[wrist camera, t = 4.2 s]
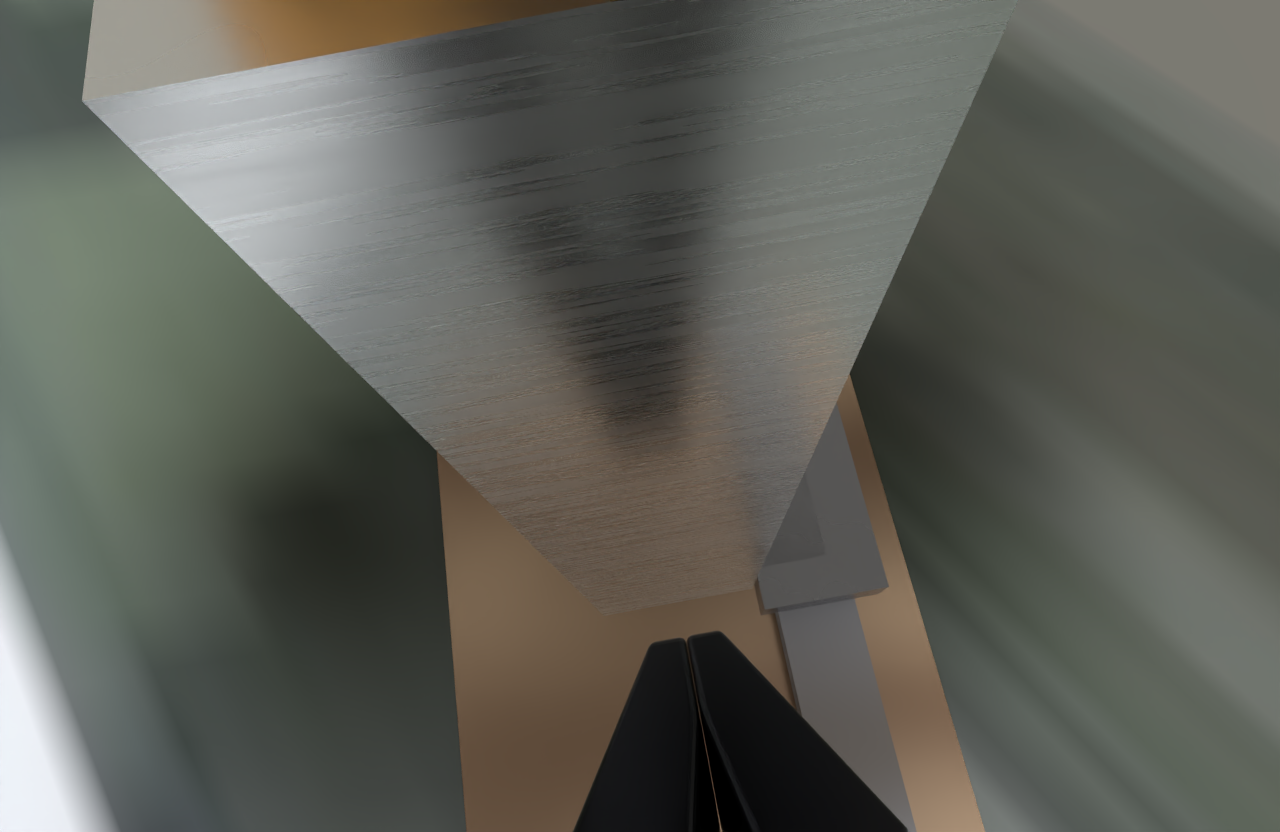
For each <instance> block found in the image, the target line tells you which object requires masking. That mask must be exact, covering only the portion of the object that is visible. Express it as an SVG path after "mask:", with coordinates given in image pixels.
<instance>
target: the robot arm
mask: <svg viewBox="0 0 1280 832" xmlns="http://www.w3.org/2000/svg"><path fill="white" fill-rule="evenodd" d="M687 646H688V649H687ZM688 652H689V654H688ZM689 657H690V659H689ZM690 663H691V665H690ZM691 668H692V670H691ZM692 674H693V676H692ZM693 679H694V681H693ZM694 684H695V686H694ZM695 690H696V692H695ZM696 695H697V697H696ZM697 701H698V703H697ZM698 706H699V708H698ZM699 712H700V713H699ZM700 717H701V719H700ZM701 722H702V724H701ZM702 728H703V730H702ZM703 733H704V735H703ZM704 739H705V741H704ZM705 744H706V746H705ZM706 750H707V752H706ZM707 755H708V757H707ZM708 760H709V763H708ZM709 766H710V768H709ZM710 771H711V773H710ZM711 777H712V779H711ZM712 782H713V784H712ZM713 787H714V790H713ZM714 793H715V795H714ZM715 798H716V801H715ZM716 804H717V806H716ZM717 809H718V812H717ZM718 814H719V817H718ZM719 819H720V824H721V828H722V832H908V829H907V827H906V826H905V825H904V824H903V823H902V822H901V821H900V820H899V819H898V818H897V817H896V816H895V815H894V813H893V812H892V811H891V810H890V809H889V808H888V807H887V806H886V805H885V804H884V803H883V802H882V801H881V800H880V799H879V798H878V796H877V795H876V794H875V793H874V792H873V791H872V790H871V789H870V788H869V787H868V786H867V785H866V784H865V783H864V782H863V781H862V780H861V778H860V777H859V776H858V775H857V774H856V773H855V772H854V771H853V770H852V769H851V768H850V767H849V766H848V765H847V764H846V763H845V761H844V760H843V759H842V758H841V757H840V756H839V755H838V754H837V753H836V752H835V751H834V750H833V749H832V748H831V747H830V746H829V744H828V743H827V742H826V741H825V740H824V739H823V738H822V737H821V736H820V735H819V734H818V733H817V732H816V731H815V730H814V729H813V727H812V726H811V725H810V724H809V723H808V722H807V721H806V720H805V719H804V718H803V717H802V716H801V715H800V714H799V713H798V712H797V710H796V709H795V708H794V707H793V706H792V705H791V704H790V703H789V702H788V701H787V700H786V699H785V698H784V697H783V696H782V695H781V693H780V692H779V691H778V690H777V689H776V688H775V687H774V686H773V685H772V684H771V683H770V682H769V681H768V680H767V679H766V678H765V676H764V675H763V674H762V673H761V672H760V671H759V670H758V669H757V668H756V667H755V666H754V665H753V664H752V663H751V662H750V661H749V660H748V658H747V657H746V656H745V655H744V654H743V653H742V652H741V651H740V650H739V649H738V648H737V647H736V646H735V645H734V644H733V643H732V641H731V640H730V639H729V638H728V637H727V636H726V635H725V634H724V633H723V632H721V631H711V632H706V633H700V634H695V635H691V636H689V637H688V639H687V643H686V641H685V640H684V639H683V638H681V637H678V638H673V639H667V640H662V641H656V642H653V643H652V644H650V646H649V648H648V650H647V652H646V654H645V657H644V659H643V662H642V664H641V667H640V669H639V671H638V674H637V676H636V679H635V681H634V684H633V686H632V689H631V691H630V693H629V696H628V698H627V701H626V703H625V706H624V708H623V710H622V713H621V715H620V718H619V720H618V723H617V725H616V728H615V730H614V732H613V735H612V737H611V740H610V742H609V745H608V747H607V749H606V752H605V754H604V757H603V759H602V762H601V764H600V767H599V769H598V771H597V774H596V776H595V779H594V781H593V784H592V786H591V788H590V791H589V793H588V796H587V798H586V801H585V803H584V805H583V808H582V810H581V813H580V815H579V818H578V820H577V823H576V825H575V827H574V830H573V832H721V831H720V824H719Z"/></svg>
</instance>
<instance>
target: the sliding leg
mask: <svg viewBox="0 0 1280 832" xmlns="http://www.w3.org/2000/svg"><path fill="white" fill-rule="evenodd" d="M1017 2H1018V0H94V5H93V14H92V22H91V31H90V39H89V47H88V56H87V64H86V73H85V81H84V89H83V98H82V101H83V102H84V103H85V104H86V105H87V106H88V107H89V108H90V109H91V110H92V111H93V112H94V113H95V114H96V115H97V116H98V117H99V118H100V119H101V120H102V121H103V122H104V123H105V124H106V125H107V126H108V127H109V128H110V129H111V130H112V131H113V132H114V133H115V134H116V135H117V136H118V137H119V138H120V139H121V140H122V141H123V142H124V143H125V144H126V145H127V146H128V147H129V148H130V149H131V150H132V151H133V152H134V153H135V154H136V155H138V156H139V157H140V158H141V159H142V160H143V161H144V162H145V163H146V164H147V165H148V166H149V167H150V168H151V169H152V170H153V171H154V172H155V173H156V174H157V175H158V176H159V177H160V178H161V179H162V180H163V181H164V182H165V183H166V184H167V185H168V186H169V187H170V188H171V189H172V190H173V191H174V192H175V193H176V194H177V195H178V196H179V197H180V198H181V199H182V200H183V201H184V202H185V203H186V204H187V205H188V206H189V207H190V208H191V209H192V210H193V211H194V212H195V213H196V214H197V215H198V216H199V217H200V218H201V219H202V220H203V221H204V222H205V223H206V224H207V225H208V226H209V227H210V228H211V229H212V230H214V231H215V232H216V233H217V234H218V235H219V236H220V237H221V238H222V239H223V240H224V241H225V242H226V243H227V244H228V245H229V246H230V247H231V248H232V249H233V250H234V251H235V252H236V253H237V254H238V255H239V256H240V257H241V258H242V259H243V260H244V261H245V262H246V263H247V264H248V265H249V266H250V267H251V268H252V269H253V270H254V271H255V272H256V273H257V274H258V275H259V276H260V277H261V278H262V279H263V280H264V281H265V282H266V283H267V284H268V285H269V286H270V287H271V288H272V289H273V290H274V291H275V292H276V293H277V294H278V295H279V296H280V297H281V298H282V299H283V300H284V301H285V302H286V303H287V304H288V305H289V306H291V307H292V308H293V309H294V310H295V311H296V312H297V313H298V314H299V315H300V316H301V317H302V318H303V319H304V320H305V321H306V322H307V323H308V324H309V325H310V326H311V327H312V328H313V329H314V330H315V331H316V332H317V333H318V334H319V335H320V336H321V337H322V338H323V339H324V340H325V341H326V342H327V343H328V344H329V345H330V346H331V347H332V348H333V349H334V350H335V351H336V352H337V353H338V354H339V355H340V356H341V357H342V358H343V359H344V360H345V361H346V362H347V363H348V364H349V365H350V366H351V367H352V368H353V369H354V370H355V371H356V372H357V373H358V374H359V375H360V376H361V377H362V378H363V379H364V380H366V381H367V382H368V383H369V384H370V385H371V386H372V387H373V388H374V389H375V390H376V391H377V392H378V393H379V394H380V395H381V396H382V397H383V398H384V399H385V400H386V401H387V402H388V403H389V404H390V405H391V406H392V407H393V408H394V409H395V410H396V411H397V412H398V413H399V414H400V415H401V416H402V417H403V418H404V419H405V420H406V421H407V422H408V423H409V424H410V425H411V426H412V427H413V428H414V429H415V430H416V431H417V432H418V433H419V434H420V435H421V436H422V437H423V438H424V439H425V440H426V441H427V442H428V443H429V444H430V445H431V446H432V447H433V448H434V449H435V450H436V451H437V452H438V453H439V454H440V455H441V456H443V457H444V458H445V459H446V460H447V461H448V462H449V463H450V464H451V465H452V466H453V467H454V468H455V469H456V470H457V471H458V472H459V473H460V474H461V475H462V476H463V477H464V478H465V479H466V480H467V481H468V482H469V483H470V484H471V485H472V486H473V487H474V488H475V489H476V490H477V491H478V492H479V493H480V494H481V495H482V496H483V497H484V498H485V499H486V500H487V501H488V502H489V503H490V504H491V505H492V506H493V507H494V508H495V509H496V510H497V511H498V512H499V513H500V514H501V515H502V516H503V517H504V518H505V519H506V520H507V521H508V522H509V523H510V524H511V525H512V526H513V527H514V528H515V529H516V530H517V531H519V532H520V533H521V534H522V535H523V536H524V537H525V538H526V539H527V540H528V541H529V542H530V543H531V544H532V545H533V546H534V547H535V548H536V549H537V550H538V551H539V552H540V553H541V554H542V555H543V556H544V557H545V558H546V559H547V560H548V561H549V562H550V563H551V564H552V565H553V566H554V567H555V568H556V569H557V570H558V571H559V572H560V573H561V574H562V575H563V576H564V577H565V578H566V579H567V580H568V581H569V582H570V583H571V584H572V585H573V586H574V587H575V588H576V589H577V590H578V591H579V592H580V593H581V594H582V595H583V596H584V597H585V598H586V599H587V600H588V601H589V602H590V603H591V604H592V605H593V606H595V607H596V608H597V609H598V610H599V611H600V612H601V613H602V614H603V615H604V616H606V615H611V614H617V613H622V612H628V611H633V610H639V609H644V608H649V607H655V606H660V605H666V604H671V603H677V602H682V601H688V600H693V599H698V598H704V597H709V596H715V595H720V594H726V593H731V592H737V591H742V590H747V589H752V588H753V585H754V587H755V592H756V596H757V601H758V605H759V610H760V614H761V616H762V615H767V614H773V613H778V612H783V611H789V610H794V609H800V608H805V607H811V606H816V605H822V604H827V603H832V602H838V601H843V600H849V599H854V598H860V597H865V596H871V595H876V594H879V593H880V592H882V591H883V590H885V589H887V588H888V587H889V585H888V581H887V578H886V574H885V571H884V567H883V564H882V560H881V557H880V553H879V550H878V546H877V543H876V539H875V536H874V532H873V529H872V525H871V522H870V518H869V515H868V511H867V508H866V504H865V501H864V497H863V494H862V490H861V487H860V483H859V480H858V476H857V473H856V469H855V466H854V462H853V459H852V455H851V451H850V448H849V444H848V441H847V437H846V434H845V430H844V427H843V423H842V420H841V416H840V413H839V409H838V406H837V400H838V397H839V395H840V393H841V391H842V389H843V386H844V384H845V382H846V380H847V378H848V375H849V373H850V371H851V369H852V367H853V364H854V362H855V360H856V358H857V355H858V353H859V351H860V349H861V347H862V344H863V342H864V340H865V338H866V336H867V333H868V331H869V329H870V327H871V325H872V322H873V320H874V318H875V316H876V313H877V311H878V309H879V307H880V305H881V302H882V300H883V298H884V296H885V294H886V291H887V289H888V287H889V285H890V283H891V280H892V278H893V276H894V274H895V271H896V269H897V267H898V265H899V263H900V260H901V258H902V256H903V254H904V252H905V249H906V247H907V245H908V243H909V241H910V238H911V236H912V234H913V232H914V229H915V227H916V225H917V223H918V221H919V218H920V216H921V214H922V212H923V210H924V207H925V205H926V203H927V201H928V199H929V196H930V194H931V192H932V190H933V187H934V185H935V183H936V181H937V179H938V176H939V174H940V172H941V170H942V168H943V165H944V163H945V161H946V159H947V157H948V154H949V152H950V150H951V148H952V145H953V143H954V141H955V139H956V137H957V134H958V132H959V130H960V128H961V126H962V123H963V121H964V119H965V117H966V115H967V112H968V110H969V108H970V106H971V103H972V101H973V99H974V97H975V95H976V92H977V90H978V88H979V86H980V84H981V81H982V79H983V77H984V75H985V73H986V70H987V68H988V66H989V64H990V61H991V59H992V57H993V55H994V53H995V50H996V48H997V46H998V44H999V42H1000V39H1001V37H1002V35H1003V33H1004V31H1005V28H1006V26H1007V24H1008V22H1009V19H1010V17H1011V15H1012V13H1013V11H1014V8H1015V6H1016V4H1017Z"/></svg>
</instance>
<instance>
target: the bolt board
mask: <svg viewBox="0 0 1280 832" xmlns="http://www.w3.org/2000/svg"><path fill="white" fill-rule="evenodd" d="M837 406H838V409H839V413H840V416H841V420H842V423H843V427H844V430H845V434H846V437H847V441H848V444H849V448H850V451H851V455H852V459H853V462H854V466H855V469H856V473H857V476H858V480H859V483H860V487H861V490H862V494H863V497H864V501H865V504H866V508H867V511H868V515H869V518H870V522H871V525H872V529H873V532H874V536H875V539H876V543H877V546H878V550H879V553H880V557H881V560H882V564H883V567H884V571H885V574H886V578H887V581H888V585H889V587H888V588H887V589H885V590H883V591H882V592H880V593H879V594H876V595H871V596H865V597H860V598H854V599H849V600H843V601H838V602H832V603H827V604H822V605H816V606H811V607H805V608H800V609H794V610H789V611H783V612H778V613H773V614H767V615H762V616H761V614H760V610H759V605H758V601H757V596H756V592H755V587H754V585H753V588H752V589H747V590H742V591H737V592H731V593H726V594H720V595H715V596H709V597H704V598H698V599H693V600H688V601H682V602H677V603H671V604H666V605H660V606H655V607H649V608H644V609H639V610H633V611H628V612H622V613H617V614H611V615H606V616H604V615H603V614H602V613H601V612H600V611H599V610H598V609H597V608H596V607H595V606H593V605H592V604H591V603H590V602H589V601H588V600H587V599H586V598H585V597H584V596H583V595H582V594H581V593H580V592H579V591H578V590H577V589H576V588H575V587H574V586H573V585H572V584H571V583H570V582H569V581H568V580H567V579H566V578H565V577H564V576H563V575H562V574H561V573H560V572H559V571H558V570H557V569H556V568H555V567H554V566H553V565H552V564H551V563H550V562H549V561H548V560H547V559H546V558H545V557H544V556H543V555H542V554H541V553H540V552H539V551H538V550H537V549H536V548H535V547H534V546H533V545H532V544H531V543H530V542H529V541H528V540H527V539H526V538H525V537H524V536H523V535H522V534H521V533H520V532H519V531H517V530H516V529H515V528H514V527H513V526H512V525H511V524H510V523H509V522H508V521H507V520H506V519H505V518H504V517H503V516H502V515H501V514H500V513H499V512H498V511H497V510H496V509H495V508H494V507H493V506H492V505H491V504H490V503H489V502H488V501H487V500H486V499H485V498H484V497H483V496H482V495H481V494H480V493H479V492H478V491H477V490H476V489H475V488H474V487H473V486H472V485H471V484H470V483H469V482H468V481H467V480H466V479H465V478H464V477H463V476H462V475H461V474H460V473H459V472H458V471H457V470H456V469H455V468H454V467H453V466H452V465H451V464H450V463H449V462H448V461H447V460H446V459H445V458H444V457H443V456H441V455H440V454H439V453H438V452H437V462H438V475H439V487H440V500H441V513H442V526H443V538H444V551H445V564H446V577H447V589H448V602H449V615H450V628H451V640H452V653H453V666H454V679H455V691H456V704H457V717H458V730H459V742H460V755H461V768H462V781H463V793H464V806H465V819H466V832H573V830H574V827H575V825H576V823H577V820H578V818H579V815H580V813H581V810H582V808H583V805H584V803H585V801H586V798H587V796H588V793H589V791H590V788H591V786H592V784H593V781H594V779H595V776H596V774H597V771H598V769H599V767H600V764H601V762H602V759H603V757H604V754H605V752H606V749H607V747H608V745H609V742H610V740H611V737H612V735H613V732H614V730H615V728H616V725H617V723H618V720H619V718H620V715H621V713H622V710H623V708H624V706H625V703H626V701H627V698H628V696H629V693H630V691H631V689H632V686H633V684H634V681H635V679H636V676H637V674H638V671H639V669H640V667H641V664H642V662H643V659H644V657H645V654H646V652H647V650H648V648H649V646H650V644H652V643H653V642H656V641H662V640H667V639H673V638H678V637H681V638H683V639H684V640H685V641H686V643H687V639H688V637H689V636H691V635H695V634H700V633H706V632H711V631H721V632H723V633H724V634H725V635H726V636H727V637H728V638H729V639H730V640H731V641H732V643H733V644H734V645H735V646H736V647H737V648H738V649H739V650H740V651H741V652H742V653H743V654H744V655H745V656H746V657H747V658H748V660H749V661H750V662H751V663H752V664H753V665H754V666H755V667H756V668H757V669H758V670H759V671H760V672H761V673H762V674H763V675H764V676H765V678H766V679H767V680H768V681H769V682H770V683H771V684H772V685H773V686H774V687H775V688H776V689H777V690H778V691H779V692H780V693H781V695H782V696H783V697H784V698H785V699H786V700H787V701H788V702H789V703H790V704H791V705H792V706H793V707H794V708H795V709H796V710H797V712H798V713H799V714H800V715H801V716H802V717H803V718H804V719H805V720H806V721H807V722H808V723H809V724H810V725H811V726H812V727H813V729H814V730H815V731H816V732H817V733H818V734H819V735H820V736H821V737H822V738H823V739H824V740H825V741H826V742H827V743H828V744H829V746H830V747H831V748H832V749H833V750H834V751H835V752H836V753H837V754H838V755H839V756H840V757H841V758H842V759H843V760H844V761H845V763H846V764H847V765H848V766H849V767H850V768H851V769H852V770H853V771H854V772H855V773H856V774H857V775H858V776H859V777H860V778H861V780H862V781H863V782H864V783H865V784H866V785H867V786H868V787H869V788H870V789H871V790H872V791H873V792H874V793H875V794H876V795H877V796H878V798H879V799H880V800H881V801H882V802H883V803H884V804H885V805H886V806H887V807H888V808H889V809H890V810H891V811H892V812H893V813H894V815H895V816H896V817H897V818H898V819H899V820H900V821H901V822H902V823H903V824H904V825H905V826H906V827H907V829H908V832H985V830H984V827H983V823H982V820H981V816H980V813H979V810H978V806H977V803H976V799H975V796H974V793H973V789H972V786H971V783H970V779H969V776H968V772H967V769H966V766H965V762H964V759H963V756H962V752H961V749H960V745H959V742H958V739H957V735H956V732H955V728H954V725H953V722H952V718H951V715H950V712H949V708H948V705H947V701H946V698H945V695H944V691H943V688H942V685H941V681H940V678H939V674H938V671H937V668H936V664H935V661H934V657H933V654H932V651H931V647H930V644H929V641H928V637H927V634H926V630H925V627H924V624H923V620H922V617H921V614H920V610H919V607H918V603H917V600H916V597H915V593H914V590H913V586H912V583H911V580H910V576H909V573H908V570H907V566H906V563H905V559H904V556H903V553H902V549H901V546H900V543H899V539H898V536H897V532H896V529H895V526H894V522H893V519H892V515H891V512H890V509H889V505H888V502H887V499H886V495H885V492H884V488H883V485H882V482H881V478H880V475H879V472H878V468H877V465H876V461H875V458H874V455H873V451H872V448H871V444H870V441H869V438H868V434H867V431H866V428H865V424H864V421H863V417H862V414H861V411H860V407H859V404H858V401H857V397H856V394H855V390H854V387H853V384H852V380H851V377H850V373H849V375H848V378H847V380H846V382H845V384H844V386H843V389H842V391H841V393H840V395H839V397H838V400H837ZM687 649H688V646H687ZM688 654H689V652H688ZM689 659H690V657H689ZM690 665H691V663H690ZM691 670H692V668H691ZM692 676H693V674H692ZM693 681H694V679H693ZM694 686H695V684H694ZM695 692H696V690H695ZM696 697H697V695H696ZM697 703H698V701H697ZM698 708H699V706H698ZM699 713H700V712H699ZM700 719H701V717H700ZM701 724H702V722H701ZM702 730H703V728H702ZM703 735H704V733H703ZM704 741H705V739H704ZM705 746H706V744H705ZM706 752H707V750H706ZM707 757H708V755H707ZM708 763H709V760H708ZM709 768H710V766H709ZM710 773H711V771H710ZM711 779H712V777H711ZM712 784H713V782H712ZM713 790H714V787H713ZM714 795H715V793H714ZM715 801H716V798H715ZM716 806H717V804H716ZM717 812H718V809H717ZM718 817H719V814H718ZM719 824H720V819H719ZM720 831H721V832H722V828H721V824H720Z"/></svg>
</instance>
